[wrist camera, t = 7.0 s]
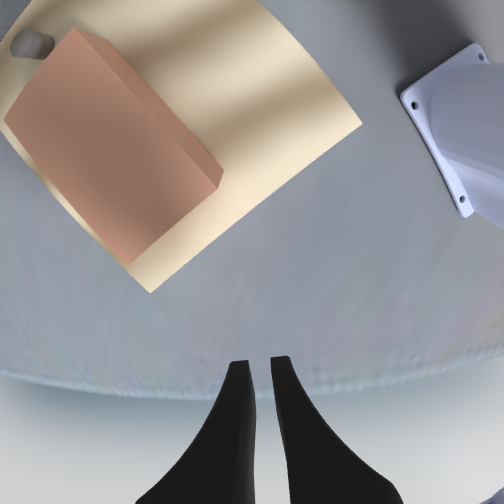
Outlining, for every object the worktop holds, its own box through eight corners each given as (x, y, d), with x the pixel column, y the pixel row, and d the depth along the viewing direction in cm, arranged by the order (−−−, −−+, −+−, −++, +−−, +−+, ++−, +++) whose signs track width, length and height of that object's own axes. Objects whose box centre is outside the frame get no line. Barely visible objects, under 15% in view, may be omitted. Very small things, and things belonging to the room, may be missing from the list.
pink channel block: (224, 170, 16) (217, 188, 13) (149, 233, 18) (127, 266, 14) (108, 40, 13) (73, 27, 9) (45, 113, 14) (3, 119, 11)
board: (357, 122, 16) (380, 126, 13) (153, 286, 20) (139, 316, 17) (138, -87, 9) (122, -110, 6) (-22, 89, 13) (-52, 92, 10)
